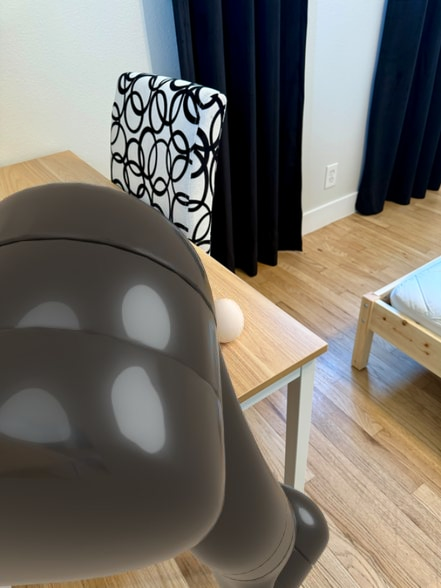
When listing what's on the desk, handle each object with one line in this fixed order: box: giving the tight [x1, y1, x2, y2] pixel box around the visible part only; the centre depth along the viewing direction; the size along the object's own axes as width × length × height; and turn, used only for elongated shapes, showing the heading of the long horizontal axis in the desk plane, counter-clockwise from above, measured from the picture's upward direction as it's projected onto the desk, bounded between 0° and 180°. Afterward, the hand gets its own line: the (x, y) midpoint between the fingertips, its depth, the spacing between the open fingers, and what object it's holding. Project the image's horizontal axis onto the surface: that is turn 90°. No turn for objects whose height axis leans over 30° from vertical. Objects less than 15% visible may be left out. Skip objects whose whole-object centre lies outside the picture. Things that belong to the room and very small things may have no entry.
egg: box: [214, 297, 245, 344], centre depth 67 cm, size 6×6×8 cm
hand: (74, 357), depth 55 cm, fingers open, 8 cm apart
